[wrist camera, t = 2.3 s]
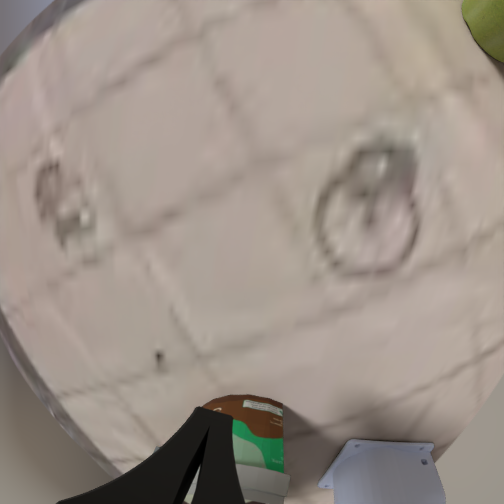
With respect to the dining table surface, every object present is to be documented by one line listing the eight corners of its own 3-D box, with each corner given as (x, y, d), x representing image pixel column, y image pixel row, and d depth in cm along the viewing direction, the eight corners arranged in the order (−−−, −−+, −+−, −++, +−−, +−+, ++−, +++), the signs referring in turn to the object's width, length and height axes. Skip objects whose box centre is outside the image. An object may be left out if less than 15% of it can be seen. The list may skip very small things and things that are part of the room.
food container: (221, 353, 21) (178, 461, 12) (293, 391, 22) (289, 503, 12) (162, 436, 25) (123, 516, 15) (219, 464, 25) (196, 547, 15)
